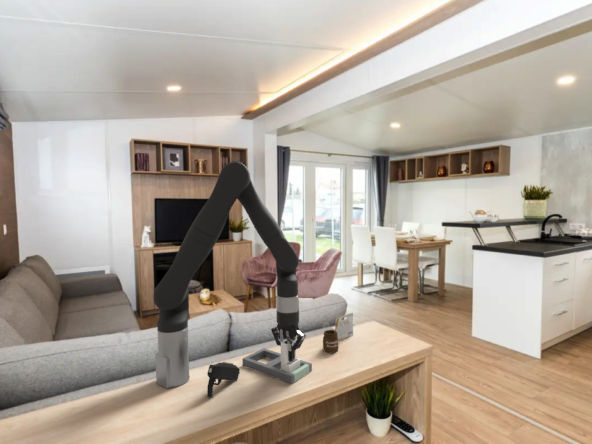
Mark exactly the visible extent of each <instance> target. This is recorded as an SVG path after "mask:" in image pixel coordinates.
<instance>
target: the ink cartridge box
mask: <svg viewBox="0 0 592 444" xmlns="http://www.w3.org/2000/svg"><path fill="white" fill-rule="evenodd" d="M337 318H338V319H339V322H338V327H337V328H336V326H333V327H331V330H335V328H336V332H337V337H338V341H340V340H343V339H346V338H347V337H351V336H353V335H354V323H353V322H354V321H353V320H354V313H353V312H350V313H348V314H347V313H346V314H345V315H341V316H339V317H335V321H334V323H335V324H336V320H338V319H337ZM344 318H345V319H344ZM335 324H334V325H335Z"/></svg>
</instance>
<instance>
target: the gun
mask: <svg viewBox="0 0 592 444" xmlns="http://www.w3.org/2000/svg"><path fill="white" fill-rule="evenodd" d="M239 376H240V367H238V366H237V365H236V364H234V363H232V362H226V361H223V362H218V363H214V364H209V366H208V370H207V377H208V378H209V379H208V382H207V387H206V388H207V389H206V394H207V398H210V399H212V398H214V394H213V392H214V386H219V385H220V384H221V383H222V381H233V382H238V380H239Z"/></svg>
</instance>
